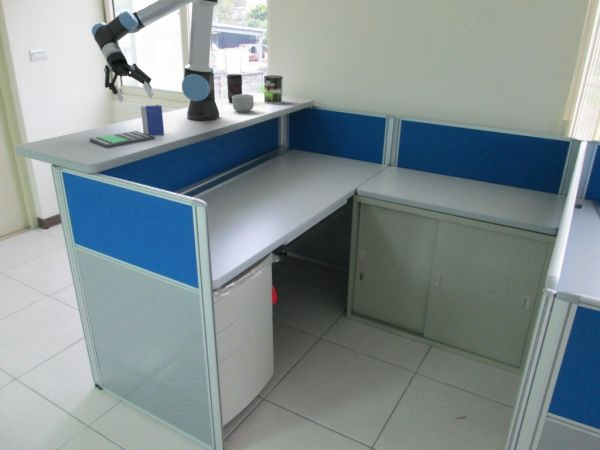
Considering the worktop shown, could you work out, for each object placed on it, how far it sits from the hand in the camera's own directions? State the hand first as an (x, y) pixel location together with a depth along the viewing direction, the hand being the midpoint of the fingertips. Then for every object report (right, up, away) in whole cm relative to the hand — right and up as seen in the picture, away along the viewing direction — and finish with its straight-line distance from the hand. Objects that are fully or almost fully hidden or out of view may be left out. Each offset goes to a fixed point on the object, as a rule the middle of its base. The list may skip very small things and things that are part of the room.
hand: (137, 98), depth 208 cm
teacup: (+38, +6, +50) cm, 63 cm away
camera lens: (+31, +16, +72) cm, 80 cm away
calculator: (-2, -19, -10) cm, 22 cm away
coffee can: (+52, +16, +74) cm, 92 cm away
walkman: (+7, -15, 0) cm, 17 cm away
